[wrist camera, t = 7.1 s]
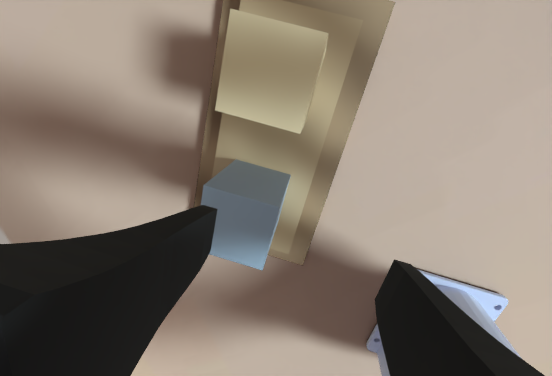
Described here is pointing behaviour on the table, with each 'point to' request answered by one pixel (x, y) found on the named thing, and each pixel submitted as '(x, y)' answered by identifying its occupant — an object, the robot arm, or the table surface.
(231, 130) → the plinth
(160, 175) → the table surface
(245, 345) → the table surface
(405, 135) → the table surface
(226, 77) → the brass block
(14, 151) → the table surface
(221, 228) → the slate block
